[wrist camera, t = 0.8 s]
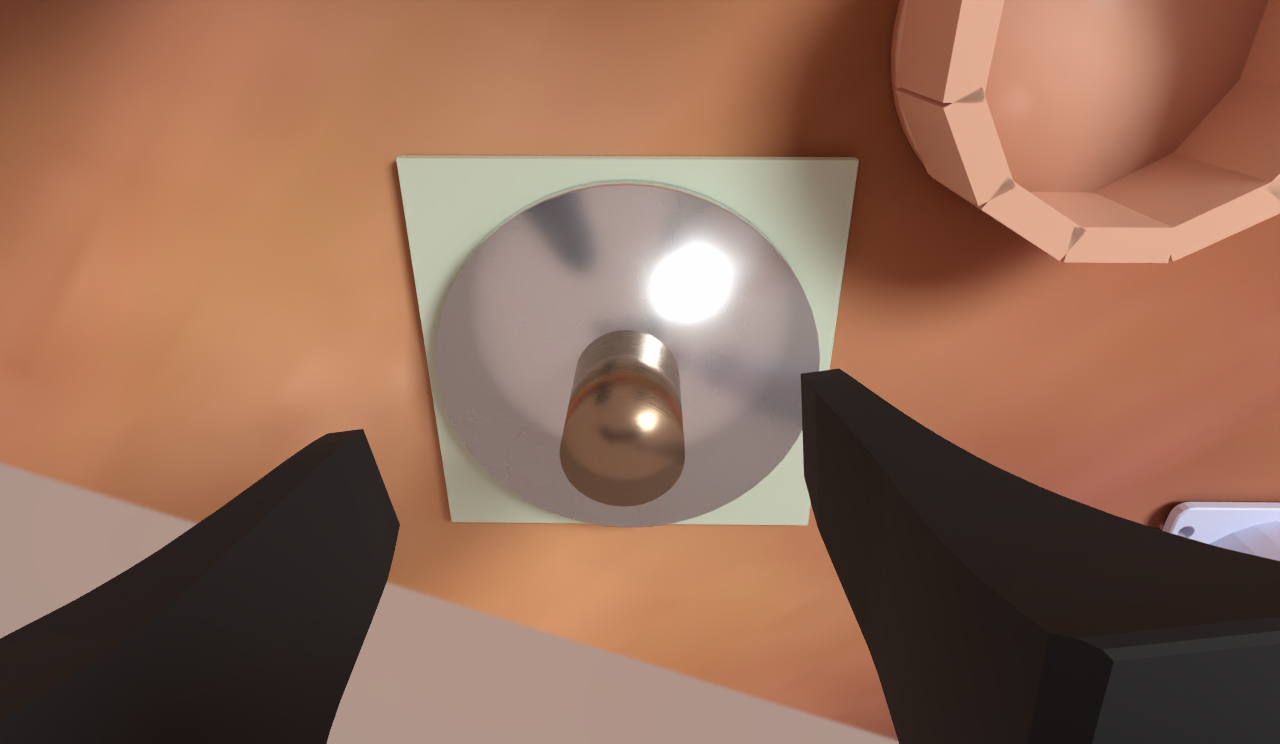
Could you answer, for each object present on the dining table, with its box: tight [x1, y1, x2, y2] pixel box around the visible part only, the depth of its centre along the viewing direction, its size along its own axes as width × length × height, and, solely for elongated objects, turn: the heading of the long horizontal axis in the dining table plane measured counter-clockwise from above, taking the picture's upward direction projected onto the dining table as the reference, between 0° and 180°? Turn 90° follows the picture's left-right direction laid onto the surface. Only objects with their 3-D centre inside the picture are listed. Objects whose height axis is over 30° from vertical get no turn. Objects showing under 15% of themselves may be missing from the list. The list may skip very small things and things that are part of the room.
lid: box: [436, 179, 820, 527], centre depth 19 cm, size 11×11×5 cm
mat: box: [396, 155, 859, 525], centre depth 22 cm, size 12×12×1 cm
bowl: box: [890, 0, 1280, 263], centre depth 16 cm, size 9×9×4 cm
